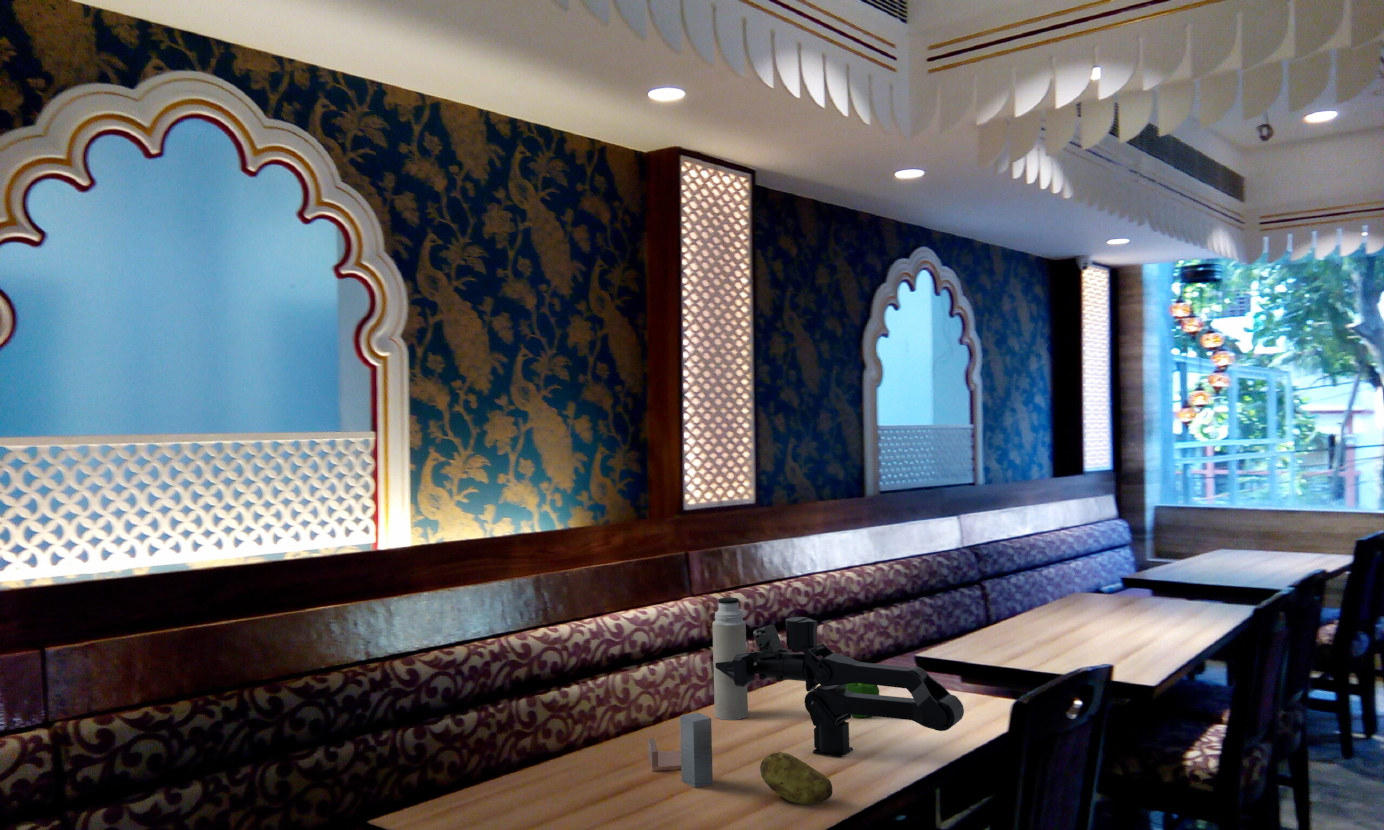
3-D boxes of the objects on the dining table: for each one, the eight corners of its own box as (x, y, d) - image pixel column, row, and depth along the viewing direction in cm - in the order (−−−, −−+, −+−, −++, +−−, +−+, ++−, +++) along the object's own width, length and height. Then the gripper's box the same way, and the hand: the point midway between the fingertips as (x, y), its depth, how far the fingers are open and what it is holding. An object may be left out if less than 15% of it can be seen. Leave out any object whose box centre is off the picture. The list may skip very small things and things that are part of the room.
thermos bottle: (722, 709, 248) (719, 595, 249) (752, 712, 245) (749, 596, 246) (709, 718, 241) (706, 599, 242) (740, 721, 238) (737, 601, 239)
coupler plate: (695, 753, 214) (695, 734, 214) (702, 767, 204) (701, 748, 204) (648, 755, 213) (648, 737, 213) (652, 770, 203) (652, 751, 203)
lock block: (699, 776, 199) (697, 712, 199) (712, 783, 194) (711, 717, 195) (681, 780, 197) (680, 715, 197) (694, 787, 192) (693, 721, 193)
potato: (810, 814, 177) (809, 768, 177) (753, 798, 186) (752, 754, 186) (838, 801, 183) (836, 756, 183) (781, 786, 192) (780, 743, 192)
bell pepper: (838, 717, 239) (837, 674, 239) (851, 709, 246) (850, 668, 246) (871, 722, 234) (870, 678, 235) (884, 713, 241) (883, 671, 242)
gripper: (806, 621, 226) (745, 618, 235) (766, 635, 210) (702, 631, 219) (808, 671, 226) (747, 666, 234) (769, 689, 210) (705, 683, 218)
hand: (726, 660), depth 226 cm, fingers open, 9 cm apart
